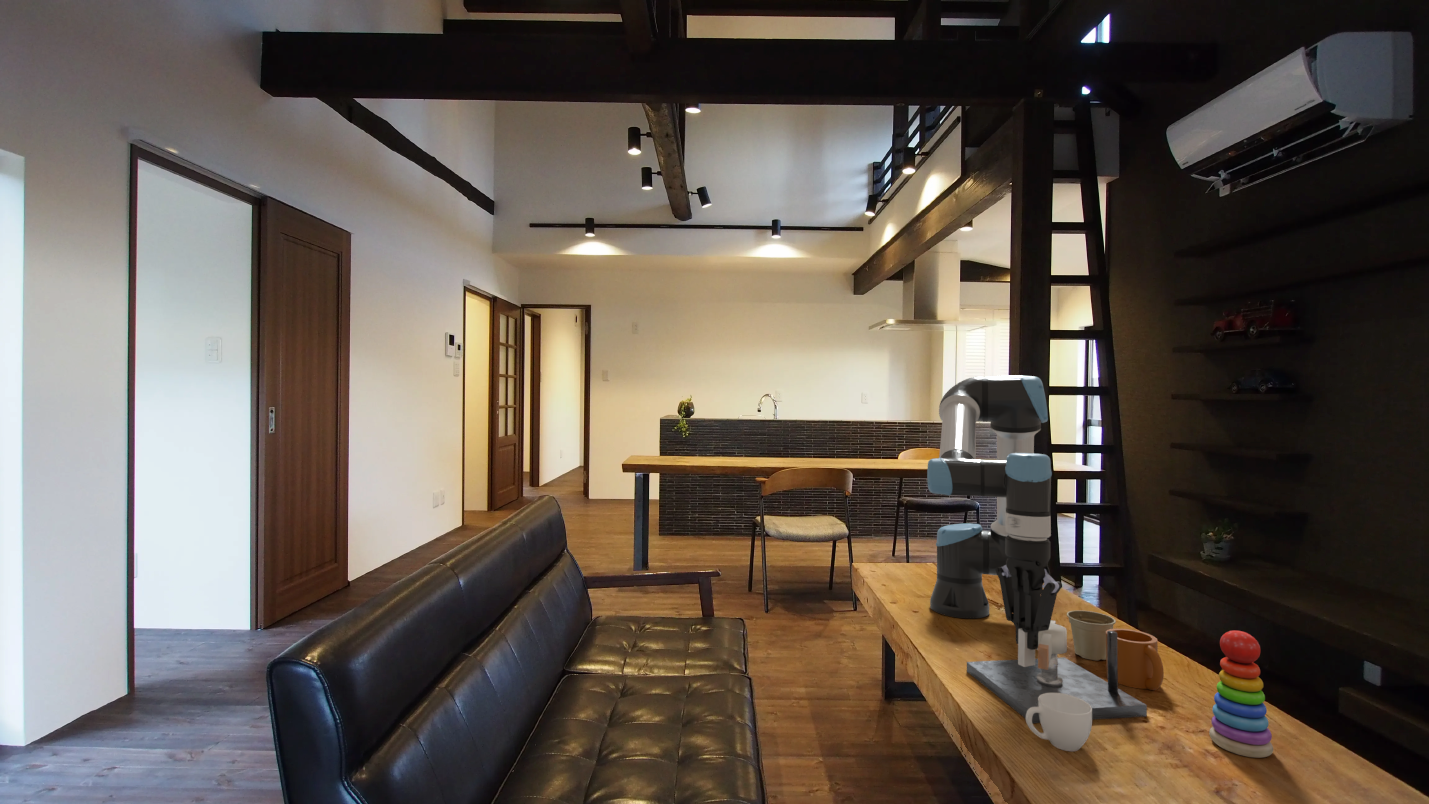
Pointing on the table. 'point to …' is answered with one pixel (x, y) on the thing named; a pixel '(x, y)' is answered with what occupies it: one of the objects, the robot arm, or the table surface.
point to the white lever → (1051, 643)
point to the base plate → (1059, 684)
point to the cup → (1062, 720)
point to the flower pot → (1090, 633)
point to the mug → (1137, 659)
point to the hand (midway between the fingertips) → (1026, 664)
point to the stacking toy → (1240, 699)
